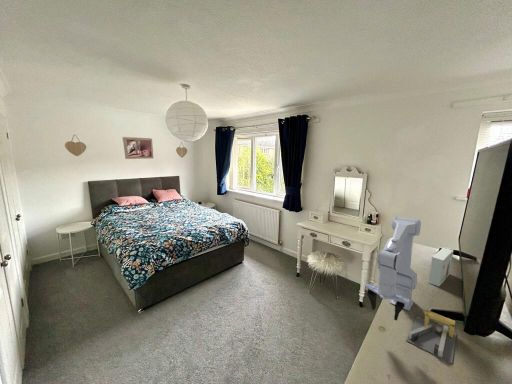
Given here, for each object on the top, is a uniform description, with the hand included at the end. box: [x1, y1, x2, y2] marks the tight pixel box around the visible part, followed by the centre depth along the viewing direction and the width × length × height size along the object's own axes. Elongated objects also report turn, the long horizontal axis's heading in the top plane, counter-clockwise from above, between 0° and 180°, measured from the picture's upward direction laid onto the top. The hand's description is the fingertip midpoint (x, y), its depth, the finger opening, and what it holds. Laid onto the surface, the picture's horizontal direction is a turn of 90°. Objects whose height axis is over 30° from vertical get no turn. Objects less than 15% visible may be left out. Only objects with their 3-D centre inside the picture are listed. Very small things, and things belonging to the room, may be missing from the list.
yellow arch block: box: [424, 309, 456, 338], centre depth 85 cm, size 3×9×6 cm, turn 43°
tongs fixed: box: [434, 324, 449, 359], centre depth 80 cm, size 16×3×2 cm, turn 133°
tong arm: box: [407, 324, 433, 341], centre depth 83 cm, size 12×2×2 cm, turn 108°
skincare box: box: [427, 247, 454, 287], centre depth 121 cm, size 21×6×16 cm, turn 126°
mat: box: [406, 316, 458, 365], centre depth 83 cm, size 18×13×1 cm
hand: (384, 313), depth 82 cm, fingers open, 7 cm apart
